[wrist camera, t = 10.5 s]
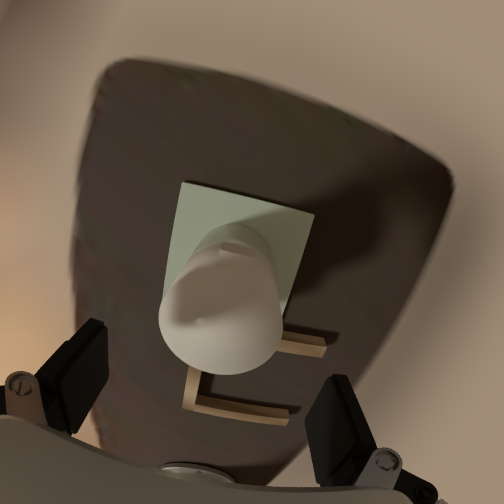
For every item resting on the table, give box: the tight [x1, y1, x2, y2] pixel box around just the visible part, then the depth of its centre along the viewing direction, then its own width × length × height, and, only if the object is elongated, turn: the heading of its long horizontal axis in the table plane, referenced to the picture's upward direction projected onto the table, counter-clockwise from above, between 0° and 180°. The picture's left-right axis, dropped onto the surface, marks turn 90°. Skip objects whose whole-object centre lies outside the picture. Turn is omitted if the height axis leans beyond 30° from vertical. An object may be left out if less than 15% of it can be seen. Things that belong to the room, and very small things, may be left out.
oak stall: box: [182, 331, 327, 426], centre depth 25 cm, size 11×11×2 cm
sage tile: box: [162, 182, 315, 315], centre depth 22 cm, size 10×10×1 cm
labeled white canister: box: [159, 224, 283, 375], centre depth 17 cm, size 6×8×9 cm
